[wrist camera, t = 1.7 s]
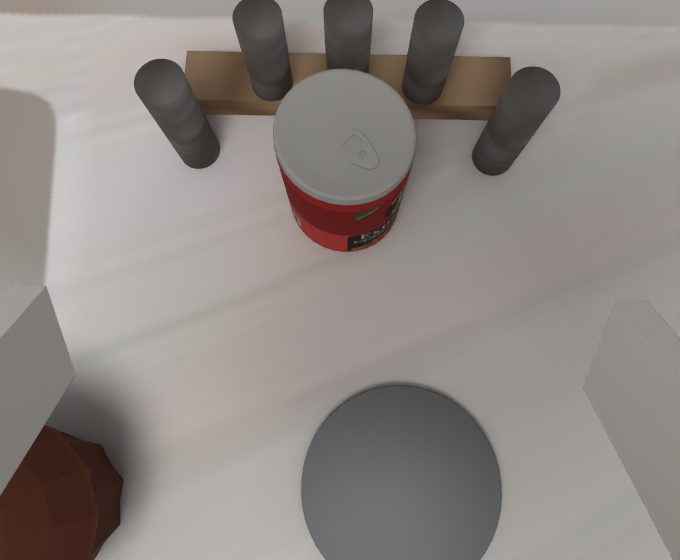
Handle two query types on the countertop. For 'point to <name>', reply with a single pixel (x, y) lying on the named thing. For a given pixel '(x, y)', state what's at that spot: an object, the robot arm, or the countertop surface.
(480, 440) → the mat
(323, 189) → the canned food
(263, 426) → the countertop surface
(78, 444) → the muffin
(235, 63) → the spacer rack
